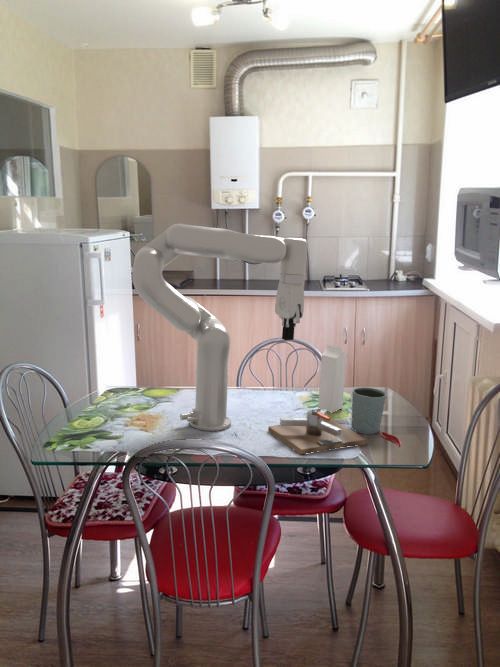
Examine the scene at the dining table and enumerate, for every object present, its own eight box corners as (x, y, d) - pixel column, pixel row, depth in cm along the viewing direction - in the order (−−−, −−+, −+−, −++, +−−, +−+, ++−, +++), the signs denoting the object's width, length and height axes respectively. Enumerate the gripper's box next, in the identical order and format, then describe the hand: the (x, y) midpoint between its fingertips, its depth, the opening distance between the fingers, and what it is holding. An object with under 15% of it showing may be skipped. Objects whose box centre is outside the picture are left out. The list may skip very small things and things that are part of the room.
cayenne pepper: (405, 449, 171) (406, 442, 170) (390, 448, 170) (390, 442, 170) (392, 433, 182) (393, 427, 182) (377, 433, 182) (378, 427, 182)
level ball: (329, 442, 166) (329, 437, 166) (326, 440, 167) (326, 435, 167) (333, 441, 167) (333, 437, 166) (330, 439, 168) (330, 435, 168)
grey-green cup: (347, 422, 189) (350, 386, 187) (379, 424, 189) (382, 388, 187) (352, 434, 179) (355, 396, 177) (385, 435, 179) (389, 397, 177)
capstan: (338, 444, 165) (340, 422, 164) (277, 432, 172) (279, 410, 171) (352, 426, 180) (354, 406, 178) (295, 416, 187) (296, 396, 185)
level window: (321, 446, 164) (321, 444, 164) (316, 443, 167) (316, 441, 166) (342, 443, 168) (342, 440, 167) (337, 440, 170) (337, 437, 170)
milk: (332, 413, 198) (337, 349, 193) (317, 408, 202) (321, 345, 197) (342, 409, 202) (347, 346, 198) (327, 405, 206) (332, 343, 202)
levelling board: (300, 455, 162) (301, 449, 162) (268, 431, 178) (268, 426, 178) (366, 444, 172) (366, 439, 171) (329, 422, 188) (329, 418, 188)
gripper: (269, 276, 183) (265, 335, 186) (293, 282, 169) (288, 345, 173) (290, 276, 186) (286, 334, 189) (316, 282, 173) (310, 344, 176)
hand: (287, 339), depth 181 cm, fingers closed
